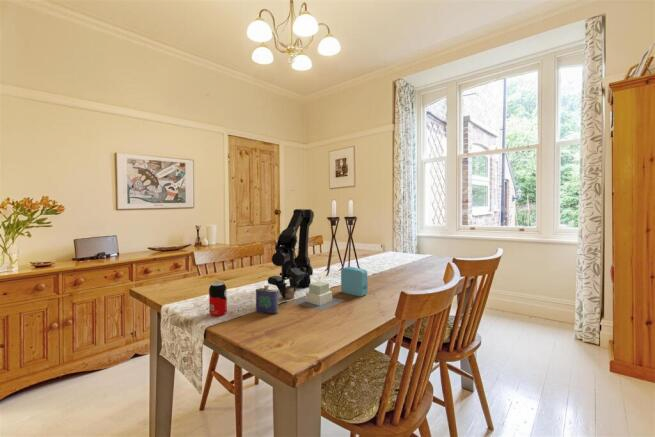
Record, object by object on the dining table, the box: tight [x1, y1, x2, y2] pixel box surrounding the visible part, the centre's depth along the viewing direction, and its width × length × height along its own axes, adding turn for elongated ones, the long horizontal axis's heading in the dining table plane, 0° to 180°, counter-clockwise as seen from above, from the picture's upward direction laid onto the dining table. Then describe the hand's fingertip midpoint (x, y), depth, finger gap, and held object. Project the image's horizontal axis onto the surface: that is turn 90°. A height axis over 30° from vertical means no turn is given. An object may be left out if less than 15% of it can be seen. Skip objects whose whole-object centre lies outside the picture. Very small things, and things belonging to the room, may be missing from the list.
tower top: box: [308, 280, 330, 295], centre depth 131 cm, size 6×6×4 cm
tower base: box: [305, 290, 333, 306], centre depth 131 cm, size 8×8×4 cm
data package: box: [340, 266, 368, 297], centre depth 142 cm, size 12×4×12 cm, turn 50°
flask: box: [255, 284, 279, 315], centre depth 119 cm, size 9×3×11 cm, turn 74°
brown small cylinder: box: [281, 285, 295, 301], centre depth 136 cm, size 5×5×5 cm
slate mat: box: [293, 296, 346, 312], centre depth 131 cm, size 16×16×1 cm
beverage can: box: [208, 281, 228, 317], centre depth 117 cm, size 6×6×12 cm
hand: (288, 296), depth 136 cm, fingers closed on brown small cylinder, 5 cm apart
